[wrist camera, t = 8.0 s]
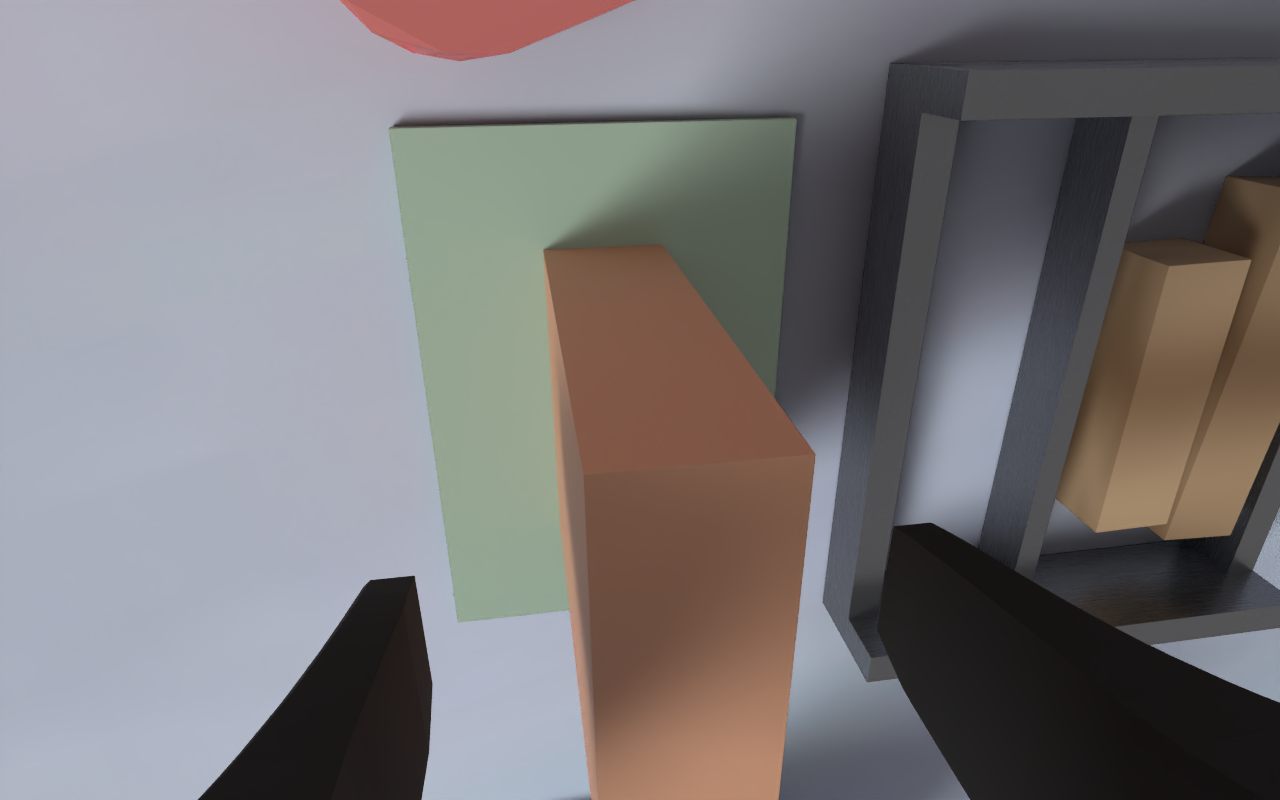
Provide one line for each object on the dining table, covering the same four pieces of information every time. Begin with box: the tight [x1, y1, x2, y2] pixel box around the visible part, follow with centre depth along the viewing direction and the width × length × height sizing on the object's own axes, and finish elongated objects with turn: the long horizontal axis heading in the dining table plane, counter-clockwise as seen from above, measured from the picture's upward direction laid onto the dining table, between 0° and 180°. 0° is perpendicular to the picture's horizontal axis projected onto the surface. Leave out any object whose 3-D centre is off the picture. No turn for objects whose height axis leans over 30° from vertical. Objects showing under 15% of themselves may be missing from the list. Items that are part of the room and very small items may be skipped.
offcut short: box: [1055, 238, 1252, 533], centre depth 19 cm, size 7×2×2 cm, turn 2°
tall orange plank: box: [543, 244, 816, 800], centre depth 14 cm, size 7×2×9 cm, turn 0°
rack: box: [823, 58, 1280, 682], centre depth 18 cm, size 14×12×3 cm
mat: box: [389, 117, 797, 622], centre depth 18 cm, size 12×8×1 cm, turn 0°
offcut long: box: [1147, 176, 1280, 540], centre depth 19 cm, size 9×2×2 cm, turn 178°
